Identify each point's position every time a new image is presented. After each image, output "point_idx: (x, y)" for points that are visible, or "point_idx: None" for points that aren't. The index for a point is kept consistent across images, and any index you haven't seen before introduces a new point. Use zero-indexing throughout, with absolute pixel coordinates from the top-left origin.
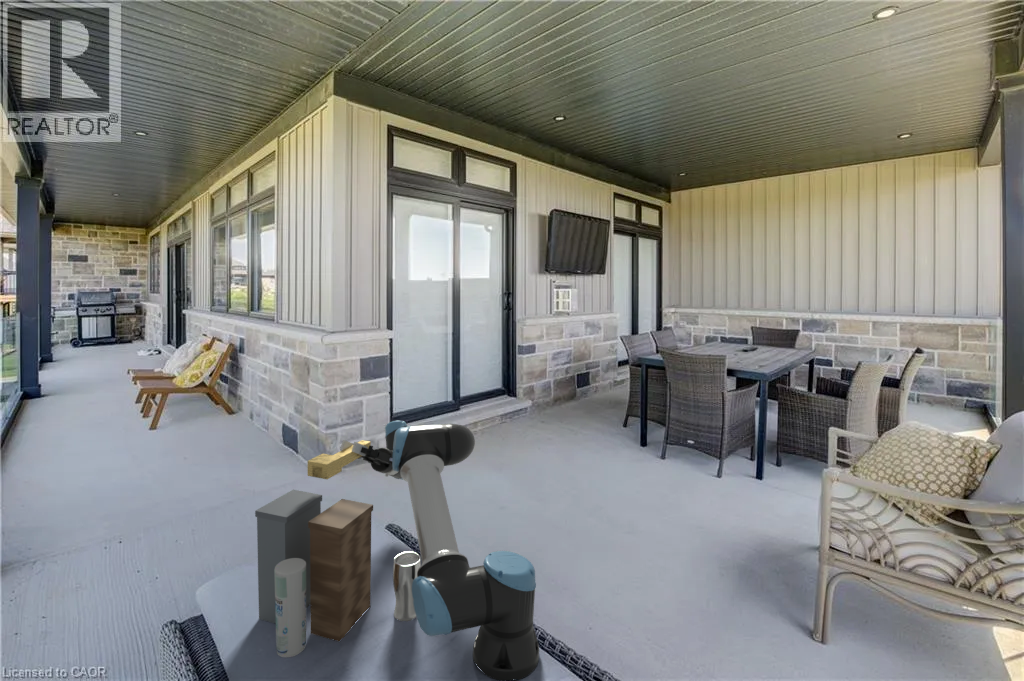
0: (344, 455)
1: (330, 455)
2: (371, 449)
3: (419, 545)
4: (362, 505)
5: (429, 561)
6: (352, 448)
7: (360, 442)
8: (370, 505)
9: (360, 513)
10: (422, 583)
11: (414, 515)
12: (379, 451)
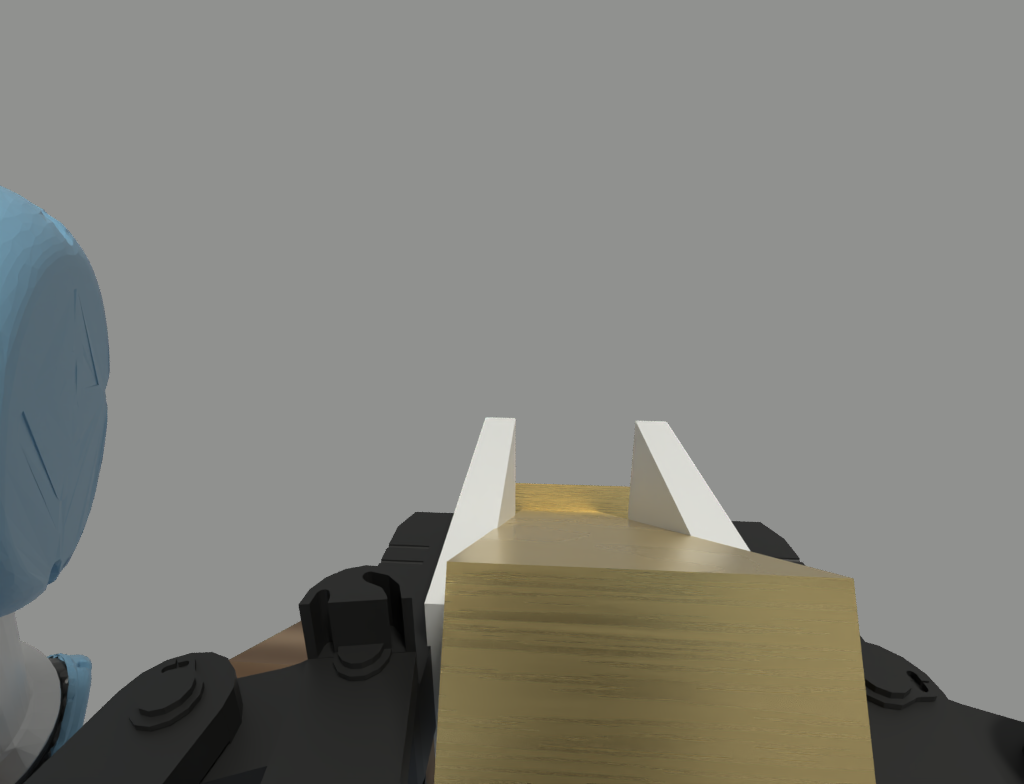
0: (520, 511)
1: (566, 485)
2: (329, 654)
3: (23, 692)
4: (284, 654)
5: (37, 650)
6: (514, 483)
7: (670, 546)
8: (241, 657)
9: (285, 632)
10: (82, 655)
11: (15, 644)
12: (68, 768)
